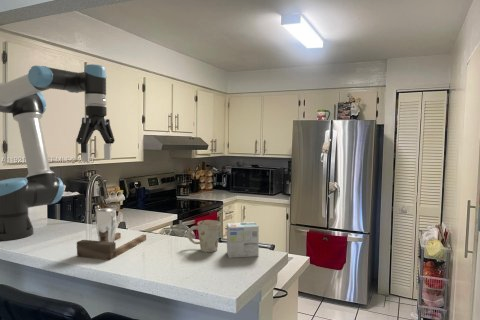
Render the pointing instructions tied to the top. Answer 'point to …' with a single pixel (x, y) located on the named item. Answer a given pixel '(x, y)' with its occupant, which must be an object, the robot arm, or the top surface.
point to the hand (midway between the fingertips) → (97, 160)
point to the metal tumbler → (106, 224)
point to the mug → (206, 235)
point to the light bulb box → (242, 239)
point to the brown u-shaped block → (105, 247)
